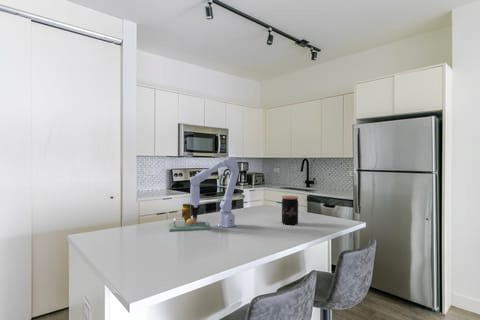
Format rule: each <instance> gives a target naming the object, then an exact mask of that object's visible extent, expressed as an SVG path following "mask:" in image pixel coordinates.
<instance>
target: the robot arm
mask: <svg viewBox="0 0 480 320" xmlns="http://www.w3.org/2000/svg"><path fill="white" fill-rule="evenodd" d="M225 167H226V168H228V170H229V171H230V176H229V177H228V182H227V186H226V189H225V193H224V195H223V197H222V200H221V202H220V203H219V207H220V210H219V223H218V224H216V225H217V226H218V227H219V226H220V227H223V228H226V229H227V228H231V227H235V226H236V224H235V221H236V220H235V219H236V217H235V214H234V213H233V212H232V207H233V206H232V204H233V195H234V191H235V188H236V184H237V181H238V179H239V174H240V168H239V165H238V161H237V160H236V158H234V157H232V156H227V157H225V158H223V159H221V160H219V161H218V162H217V163H215V164H214V165H213V166H210V167H209V168H208V169H207V168H204V169H201V171H200V172H198V173H195V174H194V175H193V176H191V177H190V179H189V182H190V189H189V191H190V194H189V195H190V197H189V202H188V203H187V204H190V207H191V216H192V219H193V218H197V219H198V213H199V210H200V204H201V201H200V197H201V196H200V184H201V182H202V183H203V182H204V181H205V180H206V179H208V178H210V177H211V174H212V173H214V172H216V171H217V170H219V169H220V168H225Z"/></svg>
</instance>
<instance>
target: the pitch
mask: <svg viewBox="0 0 480 320" xmlns="http://www.w3.org/2000/svg"><path fill="white" fill-rule="evenodd" d="M168 229H169V232H185V231H186V232H187V231H203V230H204V231H206V230H211V227H210V224H209V223H208V221H197V224H191V225H187V223H185V227H176V228H174V222H170V223H169V228H168Z"/></svg>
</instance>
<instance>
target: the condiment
mask: <svg viewBox="0 0 480 320" xmlns="http://www.w3.org/2000/svg"><path fill="white" fill-rule="evenodd" d="M190 205H191V204H188V203H183V204H182V207H181V218H184V220H185V223H186V221H187V220H188V219H192V209H191V207H190Z"/></svg>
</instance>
